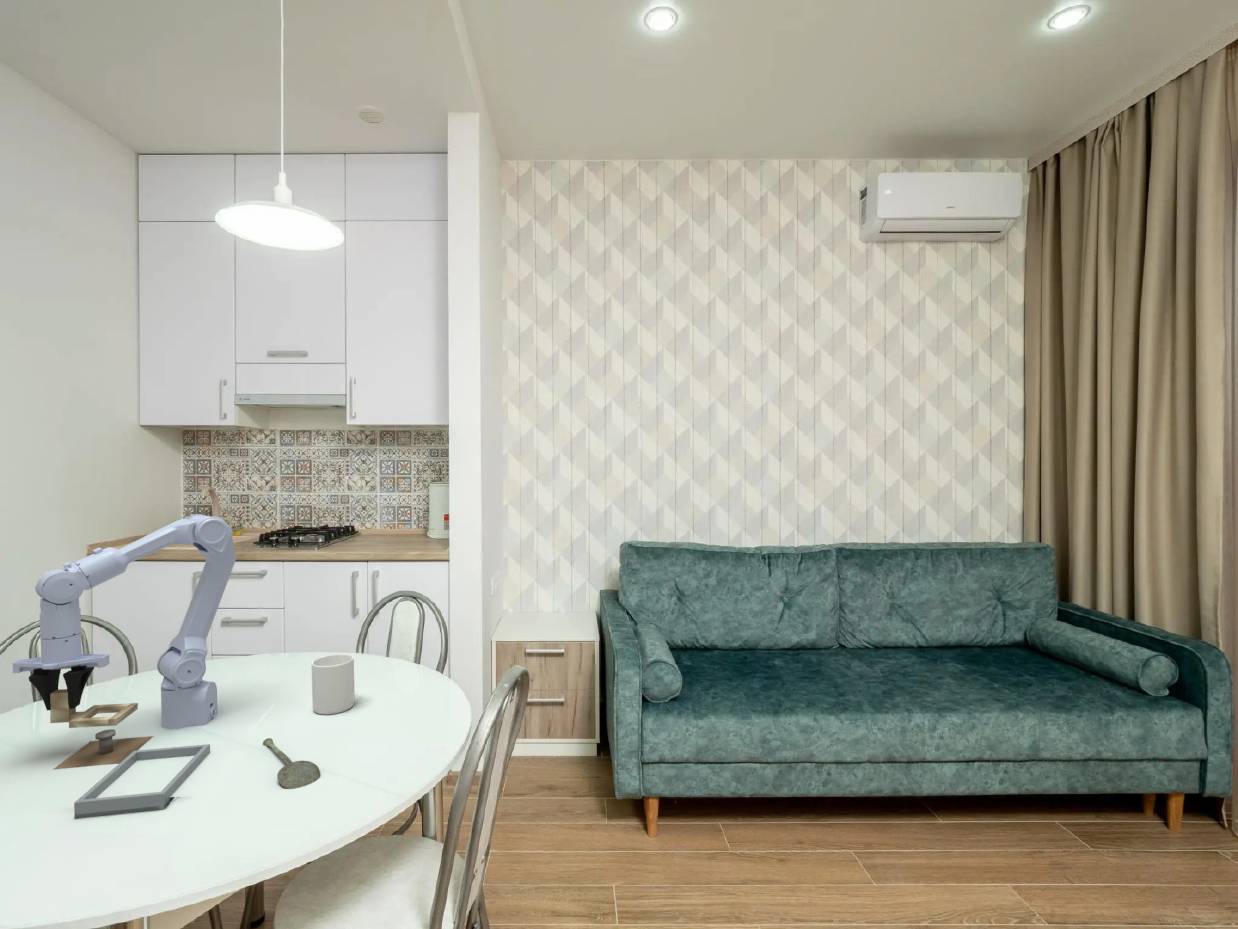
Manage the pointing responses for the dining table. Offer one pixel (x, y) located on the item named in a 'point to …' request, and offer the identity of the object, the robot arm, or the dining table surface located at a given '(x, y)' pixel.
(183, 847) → the dining table surface
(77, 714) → the wooden knob frame
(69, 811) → the dining table surface
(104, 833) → the dining table surface
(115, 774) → the grey rectangular frame
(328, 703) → the mug
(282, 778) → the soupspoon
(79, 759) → the block
